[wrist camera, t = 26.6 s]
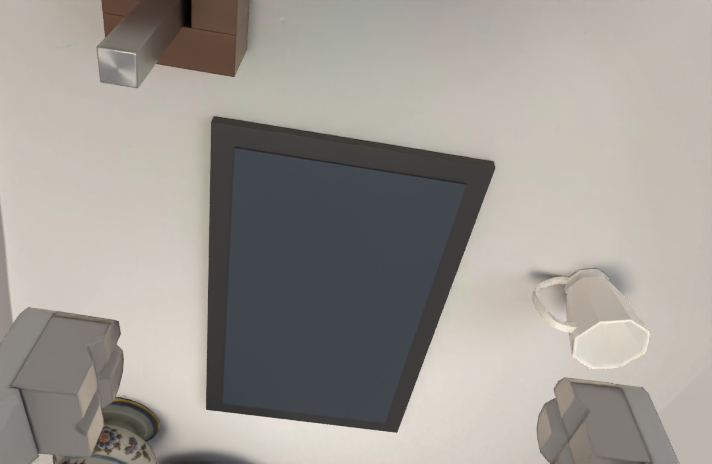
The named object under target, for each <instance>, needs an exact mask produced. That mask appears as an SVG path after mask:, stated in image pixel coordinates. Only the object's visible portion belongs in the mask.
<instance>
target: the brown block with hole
mask: <svg viewBox="0 0 712 464" xmlns="http://www.w3.org/2000/svg"><path fill="white" fill-rule="evenodd" d="M141 1H142V0H102V10H103V19H104V30H105V38H106V37H107V36H108V35H109V34H110V33H111V32H112V31H113V30H114V29H115V28H116V26H117V25H118V24H119V23H120V22H121V21H122V20H123V19H124V18H125V17H126V16H127V15H128V14H129V13H130V12H131V11H132V10H133V9H134V8H135V7H136V6H137V5H138V4H139V3H140V2H141ZM248 11H249V0H191V16H190V18H189V19H188V20H187V22H186V23H185V24H184V26H183V27H182V29H181V30H180V31H179V33H178V34H177V35H176V37H175V38H174V39H173V41H172V42H171V44H170V45H169V46H168V48H167V49H166V50H165V52H164V53H163V55H162V56H161V57H160V59H159V60H158V61H157V63H156V64H159V65H165V66H171V67H177V68H183V69H189V70H195V71H201V72H207V73H213V74H219V75H225V76H231V77H235V75H236V72H237V70H238V68H239V66H240V63H241V61H242V59H243V57H244V55H245V52H246V50H247V33H248V15H249V12H248Z"/></svg>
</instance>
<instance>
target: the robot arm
mask: <svg viewBox="0 0 712 464" xmlns="http://www.w3.org/2000/svg"><path fill="white" fill-rule="evenodd" d="M120 334H121V332H120V326H119V321H116V320H111V319H105V318H98V317H92V316H85V315H79V314H73V313H66V312H60V311H52V310H45V309H38V308H31V307H28V308H27V309H25V310H24V311H23V312H22V313H20V314H19V316H18V317H17V319H16V320H15V322H14V323H13V325H12V326H11V328H10V329H9V331H8V332H7V334H6V336H5V337H4V339H3V340H2V342H1V343H0V464H31V463H32V462H33V461H34V460H36V459H37V458H38V457H39V455H38V454H49V455H61V456H73V457H85V458H90V457H91V455H92V452H93V450H94V448H95V445H96V443H97V440H98V438H99V436H100V433H101V431H102V428H103V426H104V418H103V411H102V410H103V409H104V408H106V407H107V406H108V405H110V404H111V403H112V402H114V399H115V397H116V394H117V391H118V389H119V385H120V381H121V377H122V373H123V362H124V358H123V350H122V349H121V348H120V347H119V346H118V345H117V341H118V339H119V337H120ZM554 393H555V396H556V398H554V399H553V400H551V401H549V402H547V403H545V404H544V406H543V408H542V410H541V412H540V413H539V417H538V423H537V440H538V445H539V449H540V453H541V454H542V455H543V456H544V457H545V458H546V459H547V461H548V462H549V463H550V464H680V463H679V461H678V459H677V457H676V454H675V452H674V450H673V448H672V445H671V443H670V441H669V438H668V436H667V434H666V432H665V430H664V427H663V425H662V423H661V420H660V418H659V416H658V414H657V411H656V409H655V407H654V405H653V402H652V400H651V398H650V396H649V394H648V392H647V391H646V390H645V389H644V388H643V387H636V386H628V385H620V384H613V383H608V382H599V381H590V380H582V379H573V378H563V379H561V380H559V381H558V383H557V384H556V386H555V388H554Z"/></svg>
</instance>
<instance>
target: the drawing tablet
mask: <svg viewBox="0 0 712 464" xmlns="http://www.w3.org/2000/svg"><path fill="white" fill-rule="evenodd" d="M494 170H495V165H494V162H492V161H486V160H480V159H474V158H468V157H462V156H455V155H449V154H443V153H437V152H431V151H424V150H418V149H412V148H406V147H400V146H393V145H387V144H381V143H375V142H369V141H362V140H356V139H350V138H344V137H338V136H331V135H325V134H319V133H313V132H307V131H301V130H294V129H288V128H282V127H276V126H270V125H263V124H257V123H251V122H245V121H239V120H232V119H226V118H220V117H213V120H212V122H211V168H210V223H209V278H208V333H207V388H206V410H213V411H222V412H230V413H238V414H246V415H255V416H263V417H271V418H280V419H288V420H296V421H305V422H313V423H321V424H329V425H338V426H346V427H354V428H363V429H371V430H379V431H387V432H396V433H397V432H398V429H399V426H400V424H401V421H402V418H403V415H404V413H405V410H406V407H407V405H408V402H409V399H410V397H411V394H412V391H413V389H414V386H415V383H416V380H417V378H418V375H419V372H420V370H421V367H422V364H423V362H424V359H425V356H426V353H427V351H428V348H429V345H430V343H431V340H432V337H433V335H434V332H435V329H436V326H437V324H438V321H439V318H440V316H441V313H442V310H443V308H444V305H445V302H446V300H447V297H448V294H449V291H450V289H451V286H452V283H453V281H454V278H455V275H456V273H457V270H458V267H459V264H460V262H461V259H462V256H463V254H464V251H465V248H466V246H467V243H468V240H469V238H470V235H471V232H472V229H473V227H474V224H475V221H476V219H477V216H478V213H479V211H480V208H481V205H482V202H483V200H484V197H485V194H486V192H487V189H488V186H489V184H490V181H491V178H492V176H493V173H494Z"/></svg>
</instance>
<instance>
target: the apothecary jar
mask: <svg viewBox="0 0 712 464" xmlns="http://www.w3.org/2000/svg"><path fill="white" fill-rule="evenodd" d="M102 411H103V418H104V426H103V428H102V431H101V433H100V436H99V438H98V440H97V443H96V445H95V448H94V450H93V452H92V455H91V457H90V458H85V457H73V456H61V455H53V463H54V464H157V460H156V456H155V454H154V452H153V450H152V448H151V447H150V446H149V445H148V444H147V443H146V441H148V440H150V439H152V438H153V437H154V436H155V435H156V434H157V433H158V431H159V421H158V419H157V417H156V416H155V415H154V414H153V412H151V411H150V410H149V409H147V408H146V407H144V406H142V405H140V404H138V403H136V402H133V401H129V400H125V399H120V398H115V399H114V402H112V403H111V404H110V405H108V406H107V407H106V408H104V409H103V410H102Z"/></svg>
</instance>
